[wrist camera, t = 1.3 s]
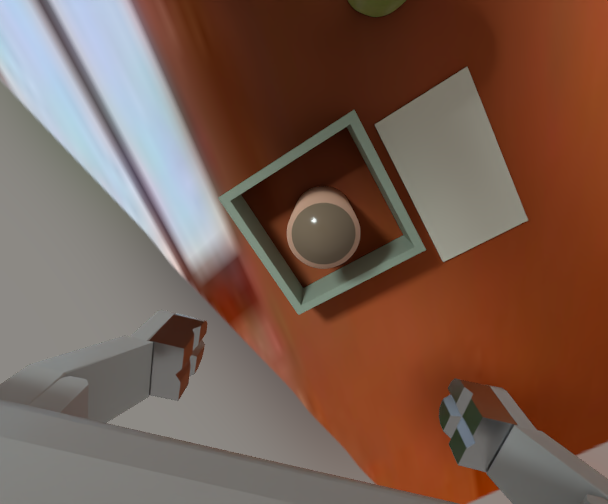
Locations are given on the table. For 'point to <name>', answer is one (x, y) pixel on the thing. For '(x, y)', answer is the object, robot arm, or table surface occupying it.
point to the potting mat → (452, 166)
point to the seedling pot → (323, 228)
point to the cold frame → (350, 273)
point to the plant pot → (376, 6)
